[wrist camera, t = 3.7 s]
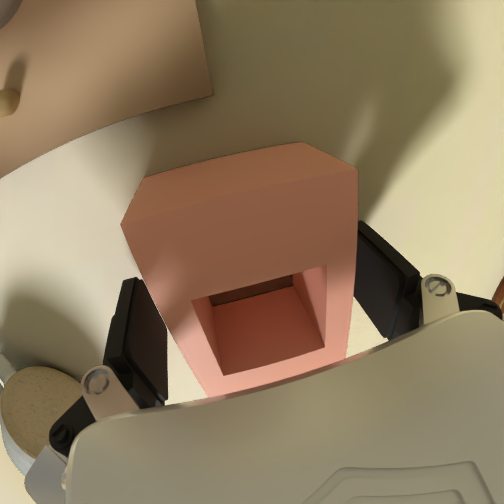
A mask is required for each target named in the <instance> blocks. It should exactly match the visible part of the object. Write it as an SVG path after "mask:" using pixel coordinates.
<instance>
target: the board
mask: <svg viewBox="0 0 504 504" xmlns="http://www.w3.org/2000/svg"><path fill="white" fill-rule="evenodd" d="M212 95H213V90H212V85H211V80H210V74H209V69H208V64H207V59H206V54H205V49H204V44H203V38H202V33H201V28H200V23H199V17H198V12H197V7H196V2H195V0H0V179H1V178H2V177H4V176H5V175H7V174H9V173H10V172H12V171H14V170H15V169H17V168H19V167H21V166H22V165H24V164H26V163H28V162H30V161H31V160H33V159H35V158H37V157H39V156H41V155H43V154H45V153H47V152H49V151H51V150H53V149H55V148H57V147H59V146H61V145H63V144H65V143H68V142H70V141H72V140H74V139H76V138H79V137H81V136H83V135H86V134H88V133H91V132H93V131H96V130H98V129H101V128H103V127H106V126H108V125H111V124H114V123H117V122H119V121H122V120H125V119H128V118H131V117H134V116H137V115H140V114H143V113H146V112H150V111H153V110H156V109H160V108H163V107H167V106H170V105H174V104H178V103H182V102H186V101H190V100H194V99H199V98H203V97H208V96H212Z"/></svg>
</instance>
